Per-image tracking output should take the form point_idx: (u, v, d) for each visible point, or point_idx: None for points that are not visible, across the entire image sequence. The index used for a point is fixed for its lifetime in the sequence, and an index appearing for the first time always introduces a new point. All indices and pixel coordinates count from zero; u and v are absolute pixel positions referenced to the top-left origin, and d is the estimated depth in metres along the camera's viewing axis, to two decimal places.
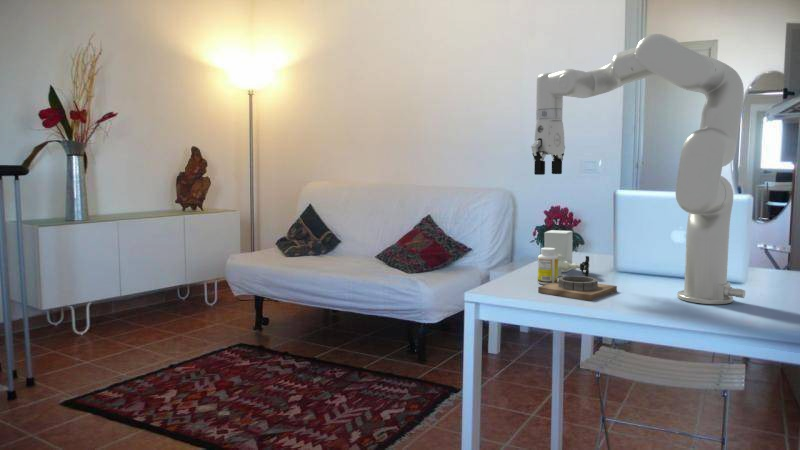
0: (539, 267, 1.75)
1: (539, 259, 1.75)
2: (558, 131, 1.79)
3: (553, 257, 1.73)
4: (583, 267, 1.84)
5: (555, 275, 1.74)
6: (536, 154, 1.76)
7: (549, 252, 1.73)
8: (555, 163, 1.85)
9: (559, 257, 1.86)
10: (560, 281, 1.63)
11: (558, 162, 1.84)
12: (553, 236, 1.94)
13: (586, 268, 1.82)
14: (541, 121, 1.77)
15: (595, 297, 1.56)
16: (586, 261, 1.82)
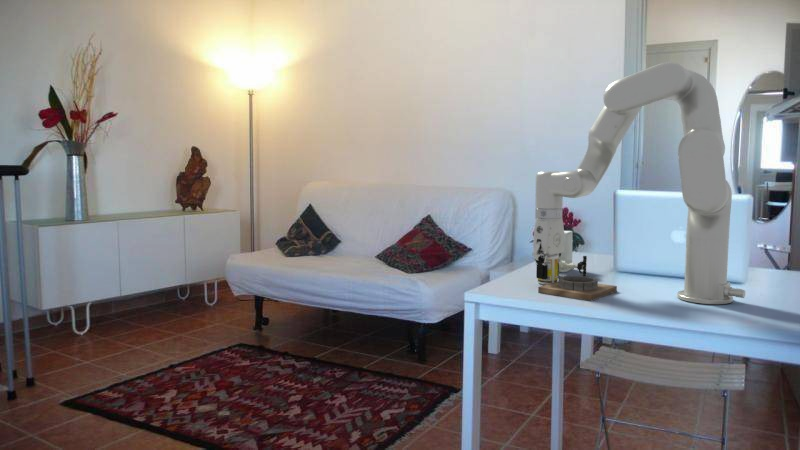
0: None
1: None
2: (558, 231, 1.73)
3: (553, 257, 1.73)
4: (581, 267, 1.85)
5: (555, 275, 1.74)
6: (538, 260, 1.71)
7: None
8: None
9: None
10: (560, 281, 1.63)
11: None
12: None
13: (584, 268, 1.82)
14: (540, 221, 1.71)
15: (595, 297, 1.56)
16: (584, 261, 1.83)
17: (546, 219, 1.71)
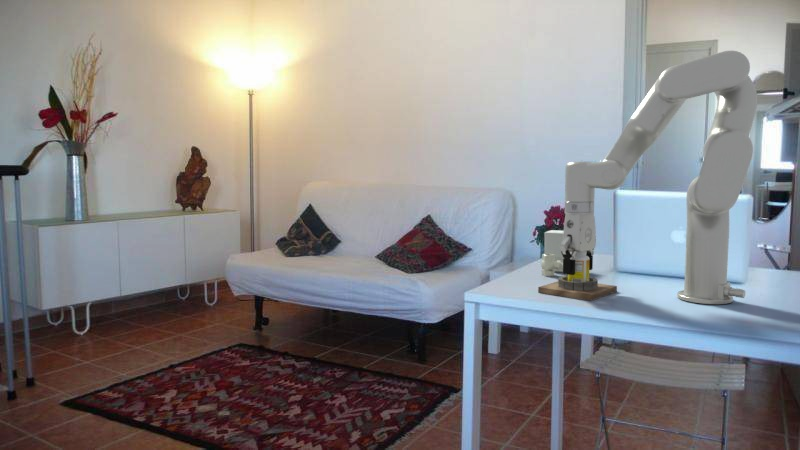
0: None
1: None
2: (589, 225, 1.61)
3: (585, 258, 1.61)
4: None
5: (587, 278, 1.62)
6: (565, 253, 1.57)
7: (581, 252, 1.61)
8: None
9: (552, 256, 1.87)
10: (560, 281, 1.63)
11: None
12: (553, 236, 1.94)
13: None
14: (571, 215, 1.59)
15: (595, 297, 1.56)
16: None
17: (577, 213, 1.59)
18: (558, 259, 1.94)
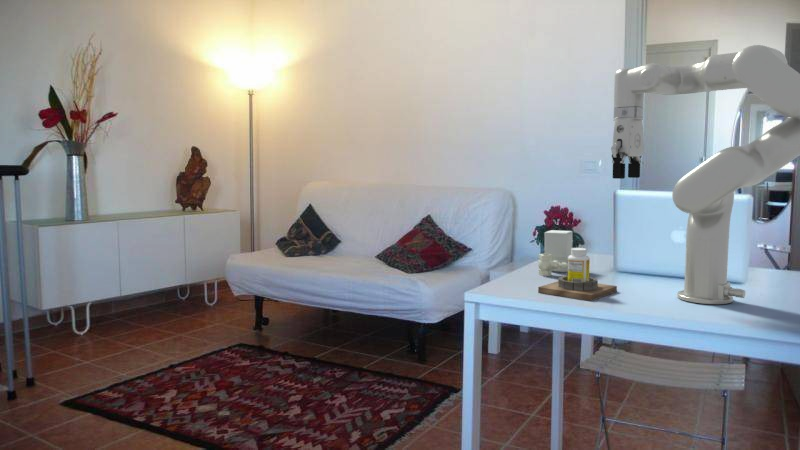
0: (569, 269, 1.63)
1: (569, 260, 1.63)
2: (638, 131, 1.65)
3: (585, 258, 1.61)
4: None
5: (587, 278, 1.62)
6: (616, 156, 1.62)
7: (581, 252, 1.61)
8: (632, 166, 1.71)
9: (549, 256, 1.88)
10: (560, 281, 1.63)
11: (636, 165, 1.70)
12: (553, 236, 1.94)
13: None
14: (621, 120, 1.63)
15: (595, 297, 1.56)
16: None
17: (627, 118, 1.63)
18: (558, 259, 1.94)
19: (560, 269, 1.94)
